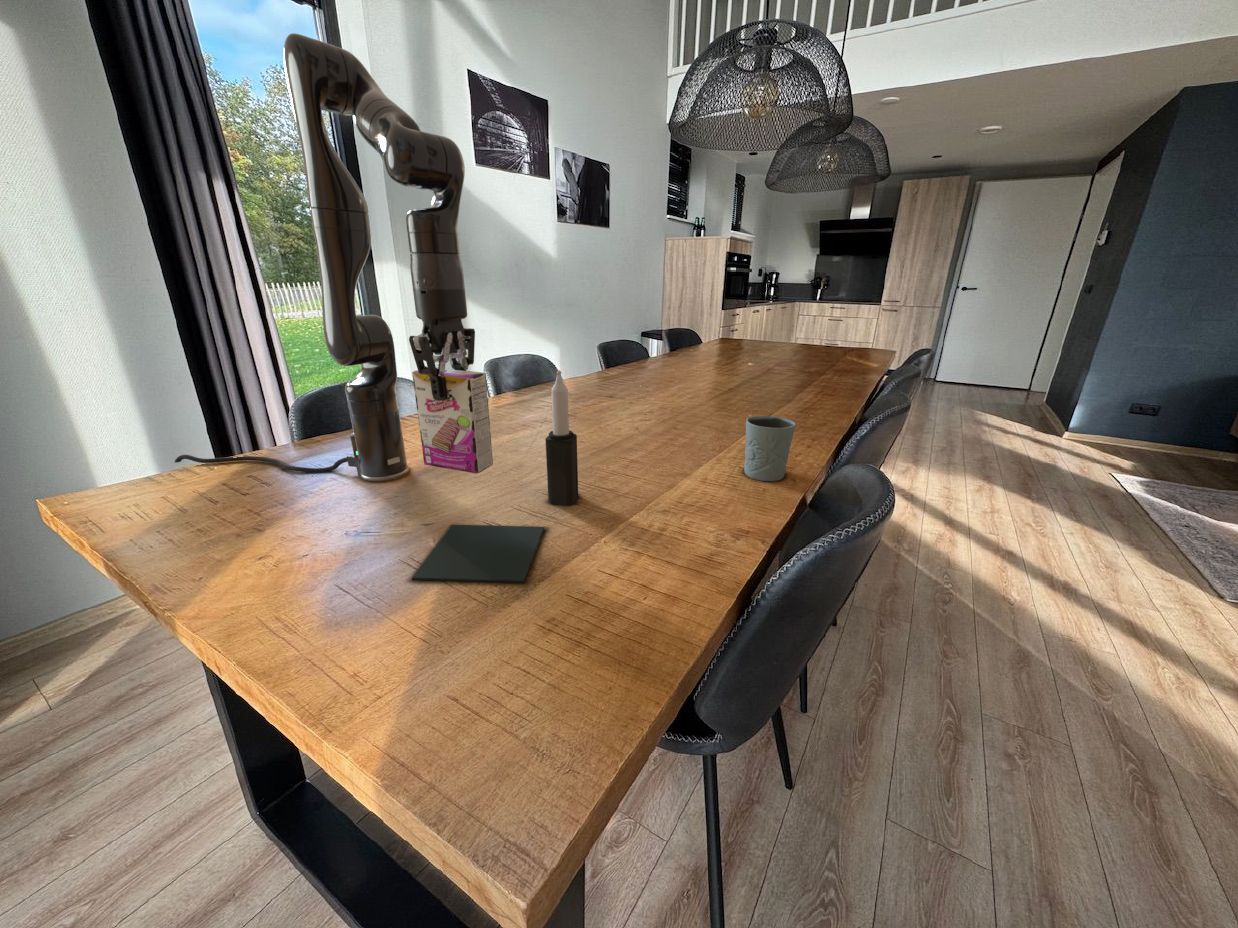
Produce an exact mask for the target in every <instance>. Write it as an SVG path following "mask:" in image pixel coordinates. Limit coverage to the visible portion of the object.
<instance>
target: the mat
mask: <svg viewBox="0 0 1238 928" xmlns="http://www.w3.org/2000/svg"><path fill="white" fill-rule="evenodd" d="M544 530H545V526H524V525H523V526H521V525H519V526H517V525H478V524H477V525H475V524H451V525H450V527H448V529H447V530H446V532H445V533H444V535H442V537H441V538H440V540H439V541H438V542H437V544H436V545H435V546H434V547H433V549H432V550H431V551H430V553H429V555H428V556H426V558H425V560H424V561H423V562H422V563H421V565H419V567H418V568H417V570H416V572H415V573H414V574H413V576H412V577H411V580H412V581H432V582H433V581H436V582H437V581H440V582H473V583H475V582H476V583H511V584H512V583H514V584H524V583H525V582H526V581H525V580H526V578H527V575H528V573H529V570H530V568H531V566H532V562H533V560H534V557H535V554H536V552H537V549H538V546H539V545H540V542H541V538H542V536H543V533H544Z"/></svg>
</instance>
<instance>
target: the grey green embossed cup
mask: <svg viewBox="0 0 1238 928" xmlns="http://www.w3.org/2000/svg"><path fill="white" fill-rule="evenodd" d="M796 425H797V424H796V422H795V421H793V420H791V419H789V418H786V417H785V418H784V417H779V416H772V415H754V416H750V417H748V418H746V420H745V445H744V446H745V448H744V467H743V468H744V470H743V471H744V474H745V475H746V476H747V477H748V478H751V479H753V480H757V481H761V482H777V481H781V480H782V479H784V477H785V474H786V470H787V464H788V460H789V456H790V452H791V446H792V442H793V441H792V440H793V437H794V433H795V429H796Z"/></svg>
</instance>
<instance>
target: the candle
mask: <svg viewBox="0 0 1238 928" xmlns="http://www.w3.org/2000/svg"><path fill="white" fill-rule="evenodd" d="M550 393H551V413H552V414H551V415H552V430H550V432H548V435H547V436H546V438H545V439H544V440H545V456H546V457H545V459H546V462H545V463H546V481H547V500H548V501H547V502H548V503H549V504H552V505H561V506H572V505H574V504H575V501H576V500H577V499H578V498H579V472H578V471H579V469H578V468H579V467H578V435H577V434H576V433H574V431H572V430H571V429H570V419H569V417H570V416H569V415H570V413H569V390H568V387H567V386H566V385H565V383H564V380H563V377H562V371H561V370H559V369H558V370H557V371H556V378H555V382H554V384H553V386H552V388H551V392H550Z"/></svg>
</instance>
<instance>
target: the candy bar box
mask: <svg viewBox="0 0 1238 928" xmlns="http://www.w3.org/2000/svg"><path fill="white" fill-rule="evenodd" d="M436 368H437V369H438V367H436ZM411 375H412V382H413V389H414V397H415V405H416V412H417V418H418V427H419V434H420V442H421V448H422V449H421V450H422V458H423V462H424V463H423V465H424V466H430V467H436V468H442V469H447V470H453V471H460V472H466V473H471V474H480V473H482V472H483V471H485V470H487V469H489V468H490V467H491V466H493V465H494V459H493V458H494V457H493V446H492V436H491V435H492V433H491V423H490V409H489V398H488V397H489V395H488V394H489V393H488V383H487V373H486V372H481V371H472V370H466V371H462V370H455V369H452V368H445V373H444V376H443V377H445V379H446V388H447V397H448V398H447V399H446V400H444V401H441V400H435V399H434V398H433V395H432V390H431V382H430V377H429V376H428V375H425V374H419V372H418V369H416V370H414V371H412V372H411Z"/></svg>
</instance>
